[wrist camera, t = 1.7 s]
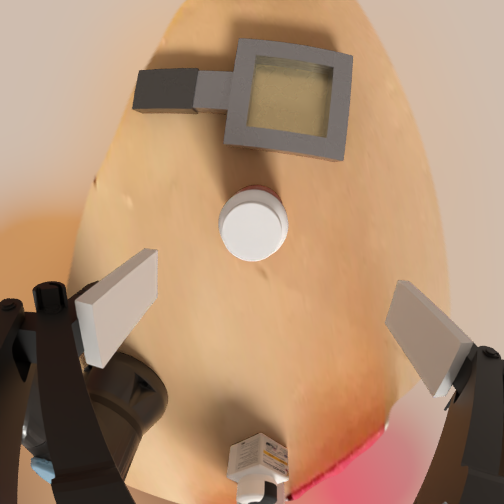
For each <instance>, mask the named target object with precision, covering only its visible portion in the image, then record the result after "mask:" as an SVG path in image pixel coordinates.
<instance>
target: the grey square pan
mask: <svg viewBox="0 0 504 504" xmlns="http://www.w3.org/2000/svg"><path fill="white" fill-rule="evenodd" d="M352 66H353V56H352V55H348V54H344V53H339V52H335V51H330V50H326V49H321V48H316V47H310V46H304V45H298V44H292V43H285V42H277V41H268V40H258V39H245V38H239V41H238V47H237V53H236V59H235V65H234V72H227V71H200V70H199V69H198V68H178V69H153V70H140V71H139V74H138V78H137V84H136V89H135V95H134V101H133V107H132V109H133V110H135V111H138V112H140V113H182V114H198V112H200V113H218V114H227V120H226V127H225V135H224V142H223V144H225V145H226V146H228V147H236V148H245V149H254V150H262V151H270V152H277V153H284V154H291V155H298V156H304V157H310V158H316V159H321V160H327V161H332V162H338V161H343V160H344V152H345V144H346V135H347V126H348V116H349V106H350V94H351V82H352Z"/></svg>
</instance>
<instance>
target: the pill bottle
mask: <svg viewBox="0 0 504 504" xmlns="http://www.w3.org/2000/svg"><path fill="white" fill-rule="evenodd" d="M218 224H219V232H220V235H221V238H222V240H223V242H224V244H225V246H226V248H227V249H228V250H229V251H230V252H231V253H232V254H233V255H234V256H236V257H237V258H239V259H242V260H245V261H259V260H262V259H265V258H267V257H269V256H270V255H271V254H273V253H274V252H275V251H277V250H278V249H279V248H280V247H281V245H282V244H283V242H284V240H285V238H286V236H287V232H288V218H287V214H286V210H285V208H284V206H283V204H282V201H281V199H280V198H279V196H278V195H277V194H276V193H275V192H274V191H273V190H271V189H270V188H268V187H265V186H262V185H251V186H247V187H244V188H242V189H241V190H239V191H238V192H237V193H236V194H235V195H234V196H232V197H231V198H230V199H229V200H228V201H227V202H226V203H225V205H224V206H223V208H222V210H221V213H220V216H219V222H218Z"/></svg>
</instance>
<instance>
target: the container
mask: <svg viewBox="0 0 504 504" xmlns="http://www.w3.org/2000/svg"><path fill="white" fill-rule="evenodd" d="M227 478H229V479H231V480H233V481H235V482H237V483H238V487H237V497H236V500H237V502H238V503H239V504H275V503H276V502H277V484H279V483H282V482H285V481H288V480H289V471H288V450H287V448H285V447H284V446H282V445H280V444H279V443H277V442H275V441H274V440H272V439H271V438H269V437H267V436H266V435H264V434H263V433H259V434H257V435H255V436H252V437H250V438H248V439H246V440H244V441H241V442H239V443H237V444H234V445H232V446H231V447H230V454H229V461H228V469H227Z"/></svg>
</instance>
